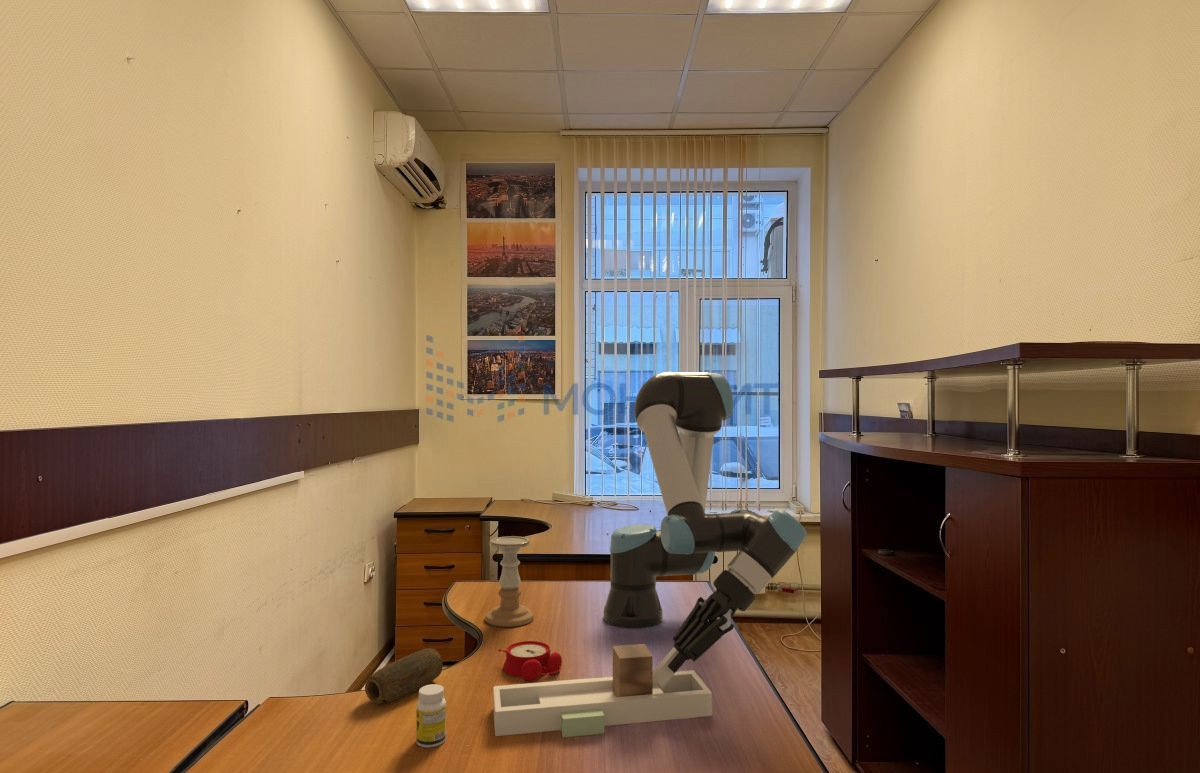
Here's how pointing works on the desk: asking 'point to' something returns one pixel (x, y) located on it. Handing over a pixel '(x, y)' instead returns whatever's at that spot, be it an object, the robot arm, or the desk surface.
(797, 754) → the desk surface
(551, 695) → the board
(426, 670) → the hollow wooden log
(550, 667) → the alarm clock
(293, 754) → the desk surface
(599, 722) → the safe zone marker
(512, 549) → the candle holder
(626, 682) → the walnut block
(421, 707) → the supplement bottle
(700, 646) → the robot arm
